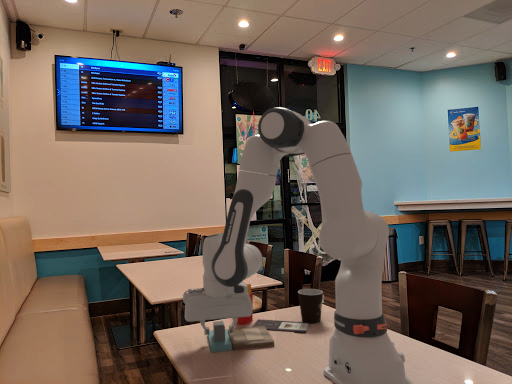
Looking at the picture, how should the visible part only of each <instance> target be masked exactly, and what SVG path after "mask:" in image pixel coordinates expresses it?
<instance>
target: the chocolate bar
mask: <svg viewBox="0 0 512 384" xmlns="http://www.w3.org/2000/svg"><path fill="white" fill-rule="evenodd" d="M309 325H310V324H309V322H302V321H291V320H288V321H287V320H277V319H276V320H273V319H257V320H256V321H255V322H254V324H253V325H252V326H251V327H256V326H265V328H266V329H267V331H274V332H275V331H276V332H286V333H287V332H290V333H295V334H307V331H308V328H309Z"/></svg>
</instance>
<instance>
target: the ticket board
mask: <svg viewBox="0 0 512 384" xmlns="http://www.w3.org/2000/svg"><path fill="white" fill-rule="evenodd" d="M227 331H228V335H229V338H230V341H231V344H232V351H238V350H239V351H240V350H249V349H250V350H251V349H260V348H268V347H269V348H270V347H275V340H274V339H273V336H271V334H270V332H269V330H267V329H266V328H265V326H256V327H252V326H249V327H248V326H247V327H246V326H245V327H236V328H235V327H234V332H232V333H229V328H228V329H227Z"/></svg>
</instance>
